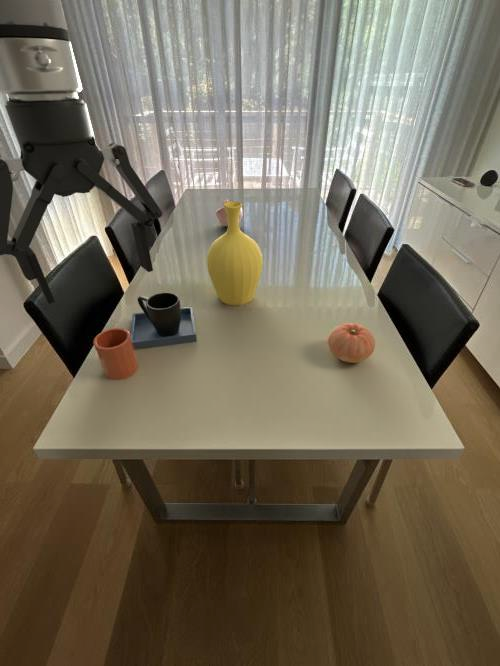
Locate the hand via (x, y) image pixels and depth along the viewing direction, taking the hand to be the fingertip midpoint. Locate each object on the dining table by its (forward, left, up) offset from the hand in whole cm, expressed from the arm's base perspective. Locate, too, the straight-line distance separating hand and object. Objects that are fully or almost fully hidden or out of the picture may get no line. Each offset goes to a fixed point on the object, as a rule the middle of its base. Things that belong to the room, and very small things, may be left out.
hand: (101, 282), depth 47 cm
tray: (+4, +31, -32) cm, 45 cm away
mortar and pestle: (+34, +105, -32) cm, 115 cm away
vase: (+26, +44, -32) cm, 60 cm away
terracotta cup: (-6, +18, -32) cm, 37 cm away
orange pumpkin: (+48, +11, -32) cm, 59 cm away
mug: (+4, +31, -31) cm, 44 cm away
